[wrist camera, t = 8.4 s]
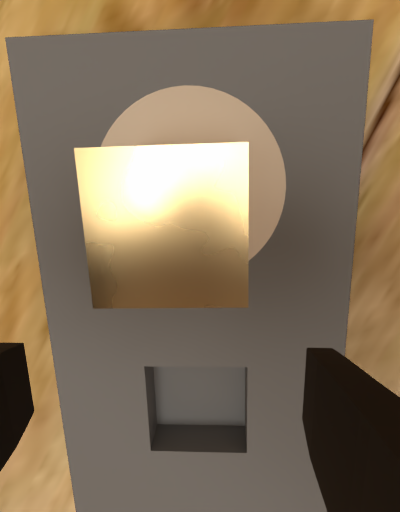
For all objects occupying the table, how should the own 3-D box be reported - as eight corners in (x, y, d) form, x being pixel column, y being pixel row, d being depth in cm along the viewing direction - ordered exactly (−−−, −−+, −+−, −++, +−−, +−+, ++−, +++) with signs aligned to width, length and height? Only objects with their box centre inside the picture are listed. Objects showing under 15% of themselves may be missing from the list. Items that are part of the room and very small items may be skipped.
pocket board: (351, 38, 16) (375, 17, 14) (319, 484, 23) (331, 527, 20) (35, 53, 17) (2, 36, 15) (91, 477, 24) (75, 518, 21)
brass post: (237, 144, 15) (248, 141, 8) (237, 241, 16) (248, 307, 10) (138, 148, 15) (73, 147, 9) (145, 243, 17) (92, 308, 10)
